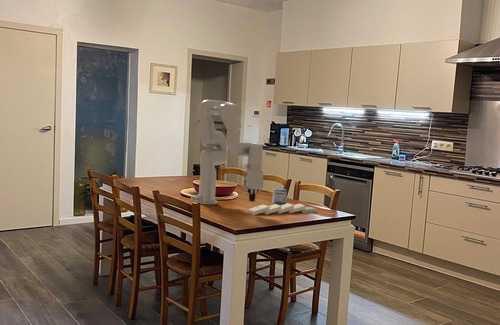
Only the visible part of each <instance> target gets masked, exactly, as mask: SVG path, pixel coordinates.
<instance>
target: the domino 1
mask: <svg viewBox="0 0 500 325" xmlns="http://www.w3.org/2000/svg"><path fill="white" fill-rule="evenodd" d="M269 206H270V205H266V204H260V205H257V206H255V207H251V208H248V209H247V211H248V213H249V214H251V215H253V216H256V215H258V214H261V213H262V212H265V211H268V210H270V209H269ZM262 214H263V213H262Z"/></svg>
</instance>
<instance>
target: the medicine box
mask: <svg viewBox="0 0 500 325" xmlns="http://www.w3.org/2000/svg"><path fill="white" fill-rule="evenodd" d="M287 193H288V190H287V189H286V188H285V189H282V188H273V189H272V198H271V199H272V200H271V202H272V203H273V204H277V205H284V204H286V203H287V196H288V195H287Z"/></svg>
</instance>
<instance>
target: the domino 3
mask: <svg viewBox="0 0 500 325" xmlns="http://www.w3.org/2000/svg"><path fill="white" fill-rule="evenodd" d="M294 205H295V204H291V203H287V202H286V204H280V206H281V208H282V210H279V211H276V212H275V213H276V214H282V213H283V214H284V213H285V212H286V211H288V210H291V209H294Z"/></svg>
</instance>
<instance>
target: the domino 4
mask: <svg viewBox="0 0 500 325" xmlns="http://www.w3.org/2000/svg"><path fill="white" fill-rule="evenodd" d="M293 205H294V209H291V210H288V211H286V212H287V213H289V214H292V213H296V212H299V211H300V210H304V209H305V207H306V205H305V204H302V203H295V204H293Z"/></svg>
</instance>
